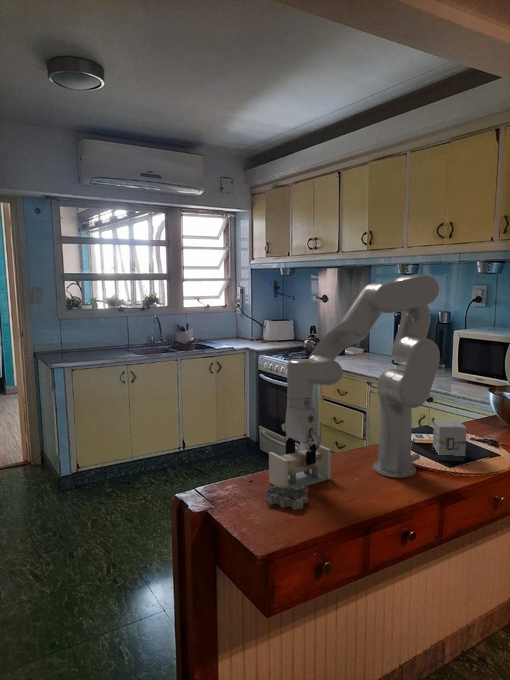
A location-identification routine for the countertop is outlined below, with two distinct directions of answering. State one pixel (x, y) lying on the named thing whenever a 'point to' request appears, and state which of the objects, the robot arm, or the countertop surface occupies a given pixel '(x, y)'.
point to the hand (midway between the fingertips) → (300, 458)
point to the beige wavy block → (300, 462)
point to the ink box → (449, 437)
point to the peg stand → (305, 478)
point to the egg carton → (282, 493)
